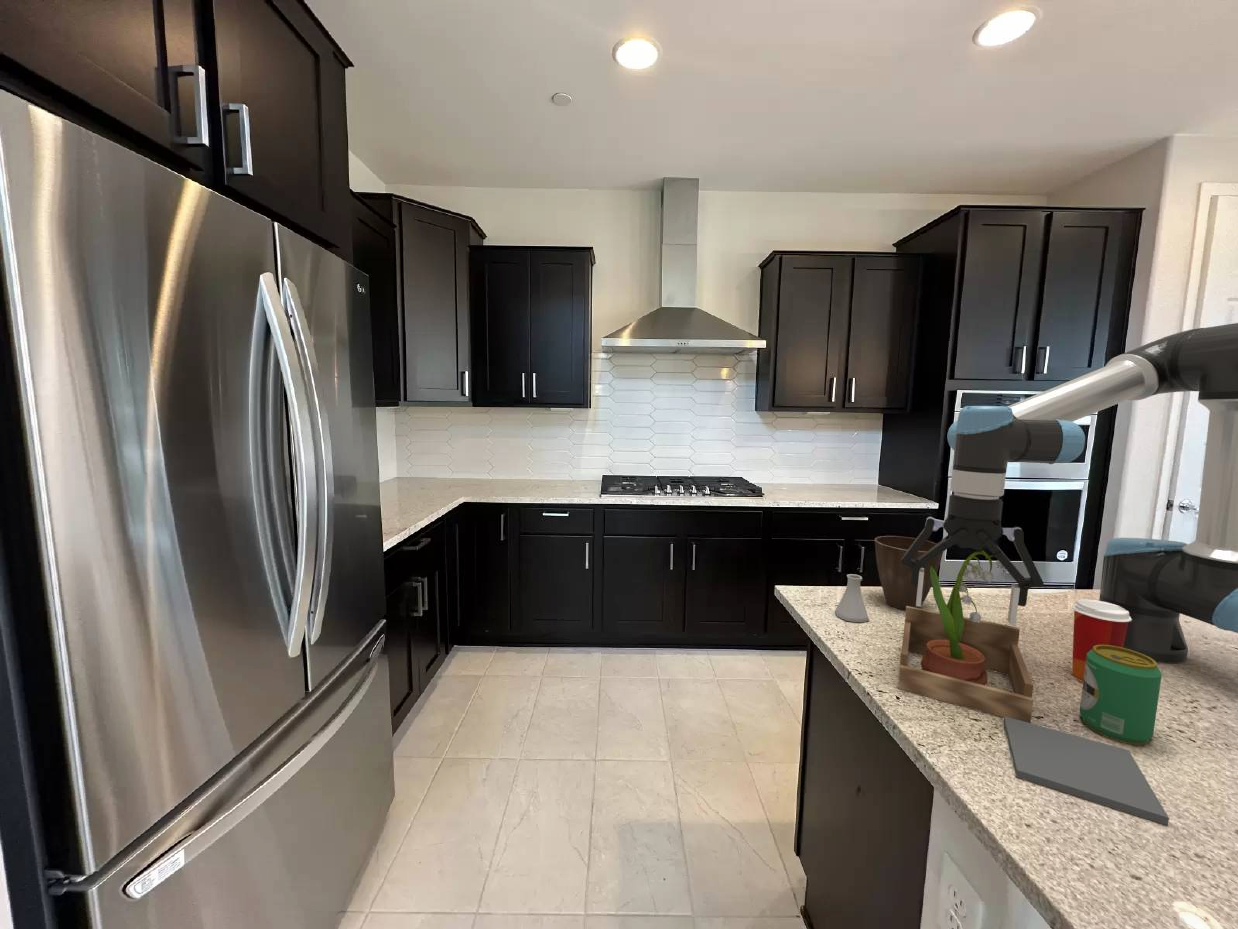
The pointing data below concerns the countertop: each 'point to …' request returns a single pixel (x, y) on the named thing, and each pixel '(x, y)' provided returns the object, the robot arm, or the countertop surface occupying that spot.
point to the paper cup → (1096, 629)
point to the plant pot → (902, 570)
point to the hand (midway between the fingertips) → (963, 613)
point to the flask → (852, 602)
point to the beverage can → (1120, 694)
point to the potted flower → (957, 629)
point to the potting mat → (1082, 768)
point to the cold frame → (999, 656)
